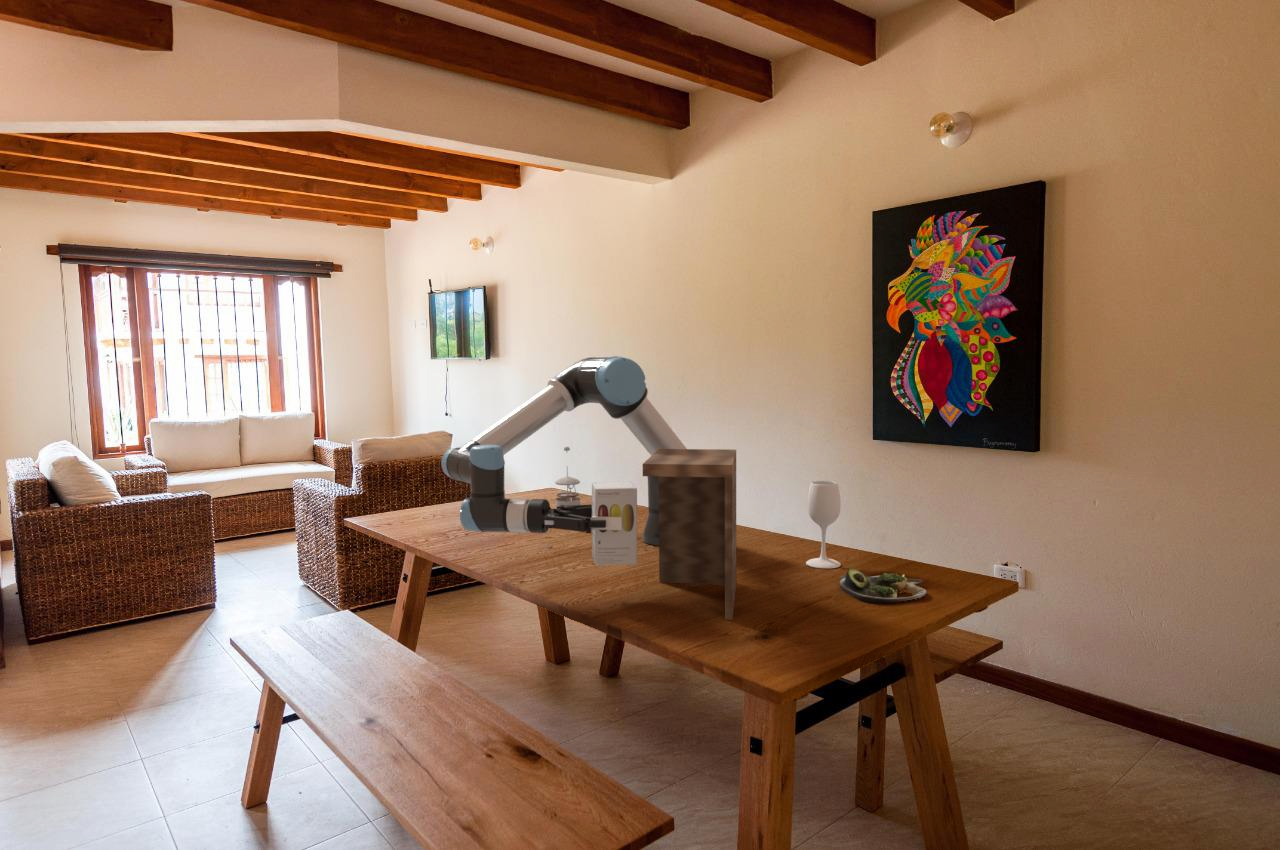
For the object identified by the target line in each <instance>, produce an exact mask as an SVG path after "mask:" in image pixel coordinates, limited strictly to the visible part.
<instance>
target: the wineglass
mask: <svg viewBox="0 0 1280 850" xmlns="http://www.w3.org/2000/svg"><path fill="white" fill-rule="evenodd" d="M841 504H842V503H841V493H840V488H839V484H838V482H836V481H832V480H814V481H811V482H810V485H809V490H808V494H807V512H808V515H809V518H810V519H811V520H812V521H813V522H814V523H815V524H816V525H818V526H819V527H820V530H821V547H820V548H821V550H820V555H819V557H814V558H811V559H808V560H807V561H805V564H806V566H808V567H811V568H814V569H828V570H829V569H837V568H839V567H841V565H842V564H841V562H839V561H838V560H835V559H833V558H829V557H827V551H826V548H827V547H826V535H827V529H828V527H829V526H830V525H831V524H833V523H835V522H836V520H837V519H838V518H839V516H840V514H841V507H842V506H841Z"/></svg>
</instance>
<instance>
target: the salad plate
mask: <svg viewBox="0 0 1280 850" xmlns="http://www.w3.org/2000/svg"><path fill="white" fill-rule="evenodd" d="M905 576H906V574H902V575H898V573H897V572H895V573H887V572H883V573H882V574H881V575H873V576H865V574H864V573H863V572H861V571H859V570H858V569H855V568H850V569H848V570H847V571H846V573H845V575H841V576H839V578H840V579H841V580H840V581H839V586H840V588H841V590H842V591H843V592H845V594H847V595H848V596H850V597H853V598H854V599H855V600H858V601H862V602H866V603H871V604H895V603H894V602H896V603H901V602H900V601H905V602H908V601H907V600H911V601H913V600H912V599H915V600H918V599H917V598H919V599H922V597H924V596H926V594H927V593H928V592H927V590H926V589H925V588H923V587H920V586H917V585H918V584H921V583H923V582H924V580H923V579H917V578H907V577H905ZM903 590H906V591H910V592H912V593H914V595H913V596H906V597H905V596H903V597H898V593H897V592H901V591H903Z"/></svg>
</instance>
